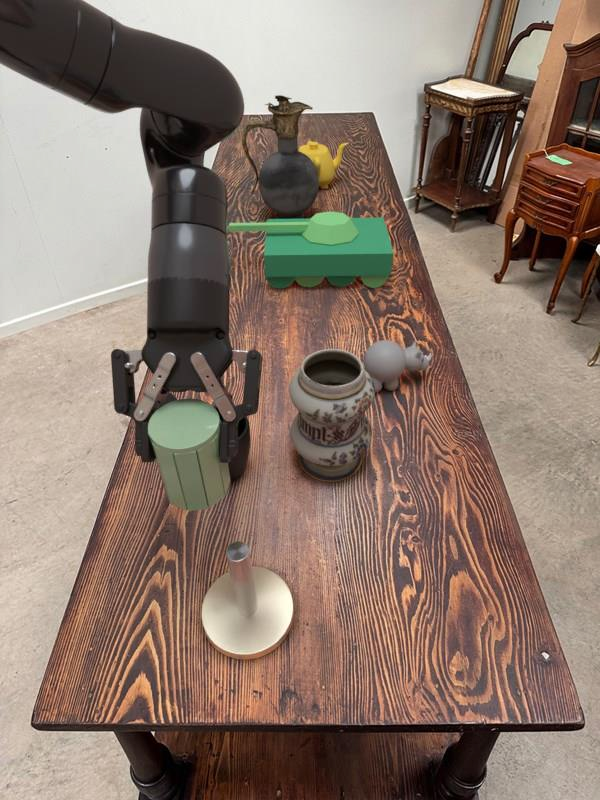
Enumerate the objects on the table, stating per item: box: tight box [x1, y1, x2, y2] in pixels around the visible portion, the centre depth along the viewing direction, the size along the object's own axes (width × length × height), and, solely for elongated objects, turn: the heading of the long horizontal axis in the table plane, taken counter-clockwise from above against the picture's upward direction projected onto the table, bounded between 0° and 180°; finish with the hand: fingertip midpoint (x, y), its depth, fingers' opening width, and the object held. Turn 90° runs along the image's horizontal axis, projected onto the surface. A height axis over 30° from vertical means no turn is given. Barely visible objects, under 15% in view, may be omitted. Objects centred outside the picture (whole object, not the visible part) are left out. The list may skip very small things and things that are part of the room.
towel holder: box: [200, 540, 295, 661], centre depth 60 cm, size 11×11×14 cm
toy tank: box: [228, 210, 394, 289], centre depth 121 cm, size 18×12×35 cm
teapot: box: [298, 140, 349, 190], centre depth 158 cm, size 14×14×12 cm
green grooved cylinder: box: [148, 397, 231, 512], centre depth 52 cm, size 6×7×9 cm
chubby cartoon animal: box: [363, 339, 433, 393], centre depth 93 cm, size 7×12×8 cm, turn 96°
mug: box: [212, 392, 252, 483], centre depth 80 cm, size 8×12×10 cm
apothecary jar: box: [288, 348, 376, 483], centre depth 77 cm, size 12×12×18 cm
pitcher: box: [241, 94, 320, 219], centre depth 135 cm, size 11×19×30 cm, turn 95°
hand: (187, 461), depth 50 cm, fingers closed on green grooved cylinder, 6 cm apart
